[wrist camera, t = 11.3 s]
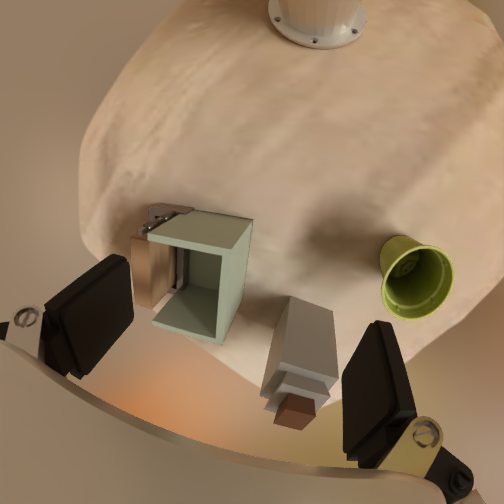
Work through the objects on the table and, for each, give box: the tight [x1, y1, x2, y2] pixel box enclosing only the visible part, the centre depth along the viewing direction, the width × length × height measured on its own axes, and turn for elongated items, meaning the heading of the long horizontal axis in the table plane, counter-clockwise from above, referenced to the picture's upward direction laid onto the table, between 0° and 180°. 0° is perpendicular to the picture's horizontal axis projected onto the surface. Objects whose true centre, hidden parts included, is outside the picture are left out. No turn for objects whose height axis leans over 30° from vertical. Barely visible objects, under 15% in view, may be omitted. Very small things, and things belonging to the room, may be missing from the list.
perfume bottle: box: [260, 296, 339, 430], centre depth 31 cm, size 7×7×18 cm
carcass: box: [148, 210, 253, 345], centre depth 33 cm, size 12×9×11 cm
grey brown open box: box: [137, 203, 194, 294], centre depth 34 cm, size 13×6×11 cm, turn 173°
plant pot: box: [379, 236, 455, 321], centre depth 29 cm, size 9×9×9 cm
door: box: [130, 223, 177, 309], centre depth 34 cm, size 9×3×10 cm, turn 173°
